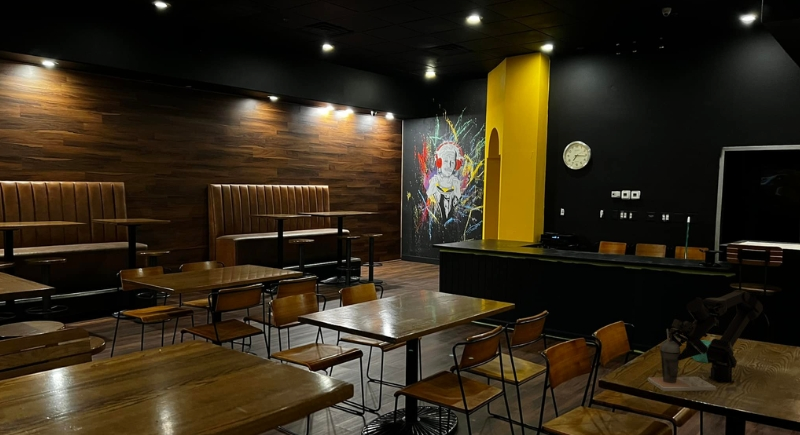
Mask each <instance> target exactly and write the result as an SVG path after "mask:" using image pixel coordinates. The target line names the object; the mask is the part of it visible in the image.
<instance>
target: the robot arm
mask: <svg viewBox="0 0 800 435" xmlns="http://www.w3.org/2000/svg"><path fill="white" fill-rule="evenodd" d="M734 306H735V309H736V310H735V311H736V315H735V316H734V317H733V319H732V321H731V322H730V323H729V325H728V327H727V328H726V330H725V331H724V333H723V334H722V336H720V337H721V338H720V339H717V338H713V339H711V341H710V342H711V343H710V344H709V345H708V346H709V347H707V346H706V345H705V344H704V343H703V342H702V341H701V339H703V337H704V338H707V337H708V334H707V333H708V332H710V330H711V329H712V328H713V327H714V326H716V327H718V328H719V327H720V323H719V322H720V319H719V318H716V316H719V317H720V316H723V315H724V314H726V313H727V311H728V310H727V309H729V308H731V307H734ZM685 307H686V310H687V312H688V313H689V314H690V315H691V316H692V318H693V319H694V321H693V322H691V321H688V320H684V321H682V320H679V319H676V318H674V320H673V322H672V324H671V328H670V329H668V334H669V340H672V341H674V342H676V343H677V344H678V345H679V347H682V346H683V344H685V347H684V349H683V350H682V351H681V353H680V355H679V356H678V358H677V359H678V360H679V362H680V361H683V360H685V359H688V358H692V356H696V355H701V353H702V354H705V353H706V355H707V360H708V363H707V364H711V367H710V376H708V378H709V379H710V380H712V381H714V382H716V383H719V384H720V383H724V384H725V383H735V380H733V377H732V376H733V368H736V367H737V362H738V360H737V359H736V357H735V356H734V354H735V352H734V349H733V348H734V346H735V344H736V342H737V340H739V338H740V336H741V335H742V333H743V332H744V330H745V329H746V327H747V325H748V324H749V322H750V321H752V320H755V319H757V318H758V317H760V315H761V313H762V312H763V310H764V305H763V304H762V303H761V301H760V300H759V299H757V298H756V297H755V296H752V295H751V294H750V292H748V291H745V290H738V289H736V290H732V292H730V293H727V294H725V295H722V296H720V297H707V298H704V299H703V298H701V297H695V299H693V300H691V301H690V300H689V302H688V303H687V304H686V306H685Z"/></svg>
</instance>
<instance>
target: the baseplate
mask: <svg viewBox="0 0 800 435" xmlns="http://www.w3.org/2000/svg"><path fill="white" fill-rule="evenodd" d="M647 382H649V383H650V384H652V385H653V386H655V387H657V388H658V389H659V390H661V391H663V392H688V391H689V392H691V391H693V392H694V391H695V392H696V391H717V386H715V385H713V384H711V383H710V382H708V381H706V380H704V379H703V378H700V377H699V376H677V380H676V383H667V382H664V381H663V376H661V377H647Z"/></svg>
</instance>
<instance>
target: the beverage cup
mask: <svg viewBox="0 0 800 435" xmlns="http://www.w3.org/2000/svg"><path fill="white" fill-rule="evenodd" d="M668 331H669V328H666V337H667V340H665V341H663V342H662V343H661V345H660V347H659V354H660V359H661V360H660V361H661V370H662V371H661V372H662V374H661V375H662V377H663V381H664V382H667V383H676V380H677V377H678V370H679V364H680V363H679V362H680V361H679V360H678V359H677V358H678V356H679V355H680V354H681V353H682V351H681V348H680V347H681V346H680V347H679V345H678V344H677V343H676V342H674V341H672V340H670V335H669V332H668Z"/></svg>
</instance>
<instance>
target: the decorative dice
mask: <svg viewBox="0 0 800 435" xmlns="http://www.w3.org/2000/svg"><path fill="white" fill-rule="evenodd" d="M700 340H701V339H700ZM701 341H702V342H703V343H704V344H705V345H706V346H707V347H709V346H708V345H709V344H710V343H711V342H712V341H710V340H703V339H702V340H701ZM691 358H692V359H693V360H694V361H696V362H698V363H703V364H709V363H708V360H707V355H706V353H705V354H702V353H701V355H696V356H692V357H691Z"/></svg>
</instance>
